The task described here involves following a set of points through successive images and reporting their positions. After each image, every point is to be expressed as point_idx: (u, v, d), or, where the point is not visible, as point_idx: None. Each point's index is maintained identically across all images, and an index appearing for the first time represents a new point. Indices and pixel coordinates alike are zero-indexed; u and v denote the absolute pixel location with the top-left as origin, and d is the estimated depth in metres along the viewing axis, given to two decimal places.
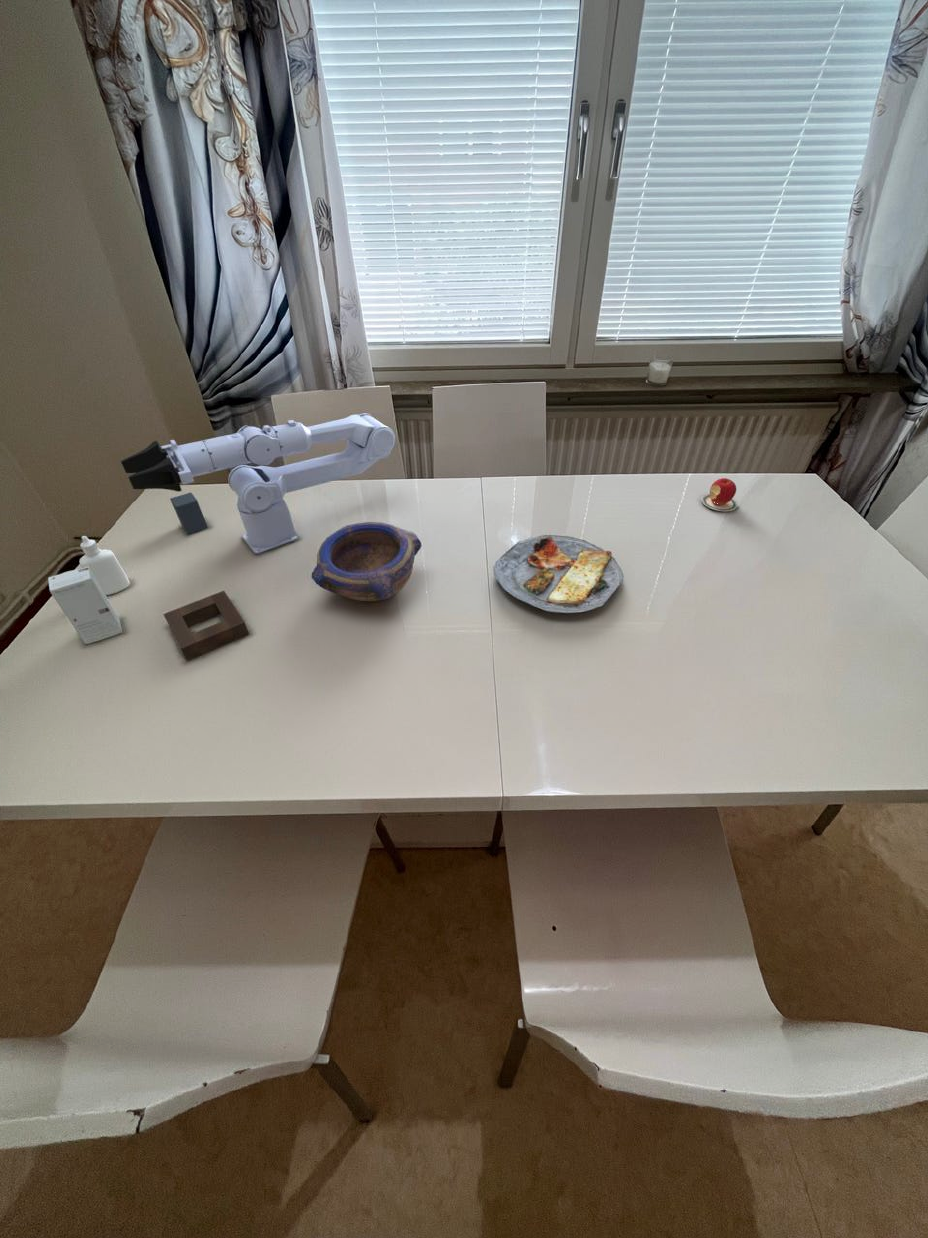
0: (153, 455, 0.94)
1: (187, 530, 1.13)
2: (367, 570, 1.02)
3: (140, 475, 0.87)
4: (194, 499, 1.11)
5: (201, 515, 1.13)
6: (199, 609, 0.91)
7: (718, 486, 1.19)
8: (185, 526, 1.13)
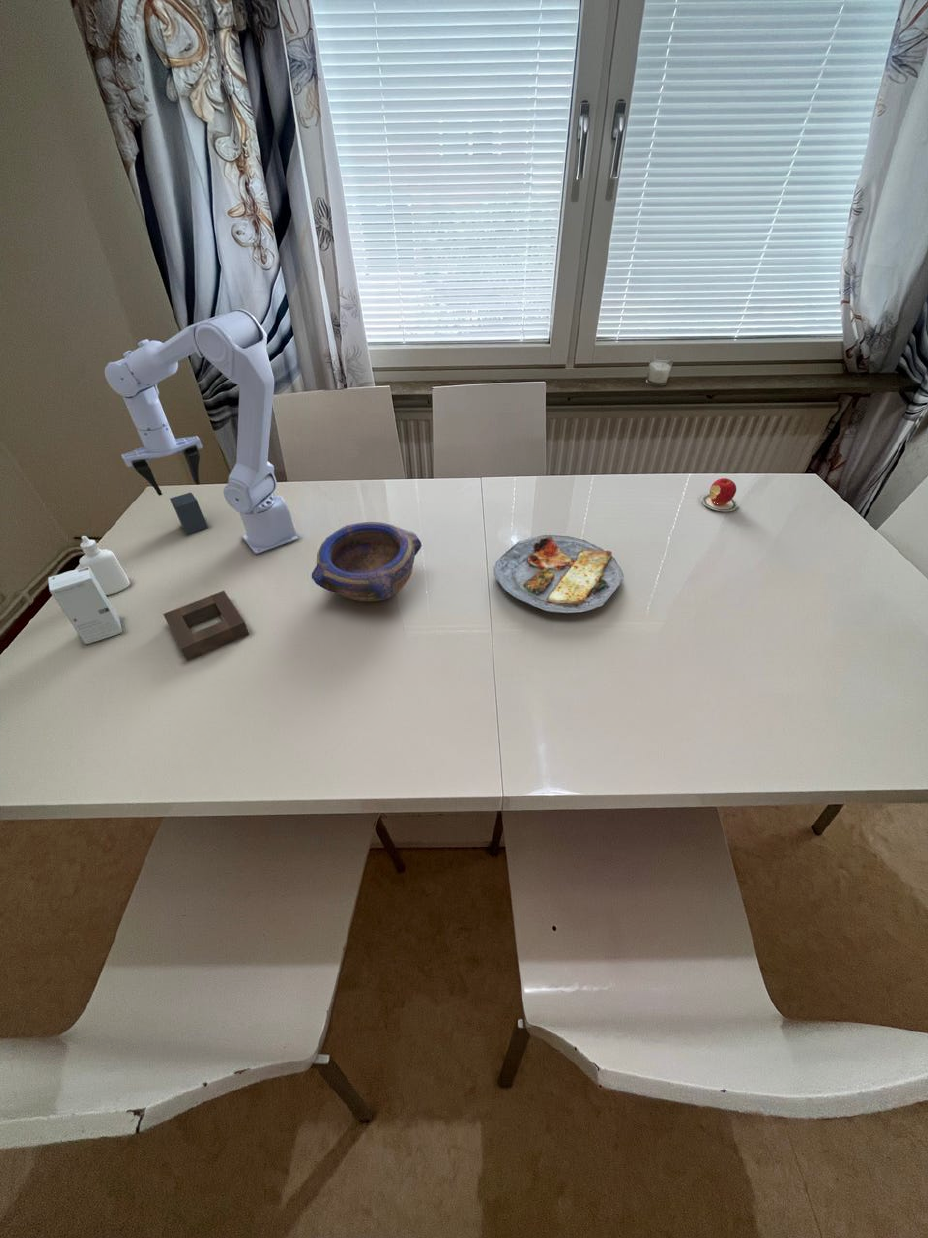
0: (186, 458, 1.08)
1: (187, 530, 1.13)
2: (367, 570, 1.02)
3: None
4: (194, 499, 1.11)
5: (201, 515, 1.13)
6: (199, 609, 0.91)
7: (718, 486, 1.19)
8: (185, 526, 1.13)
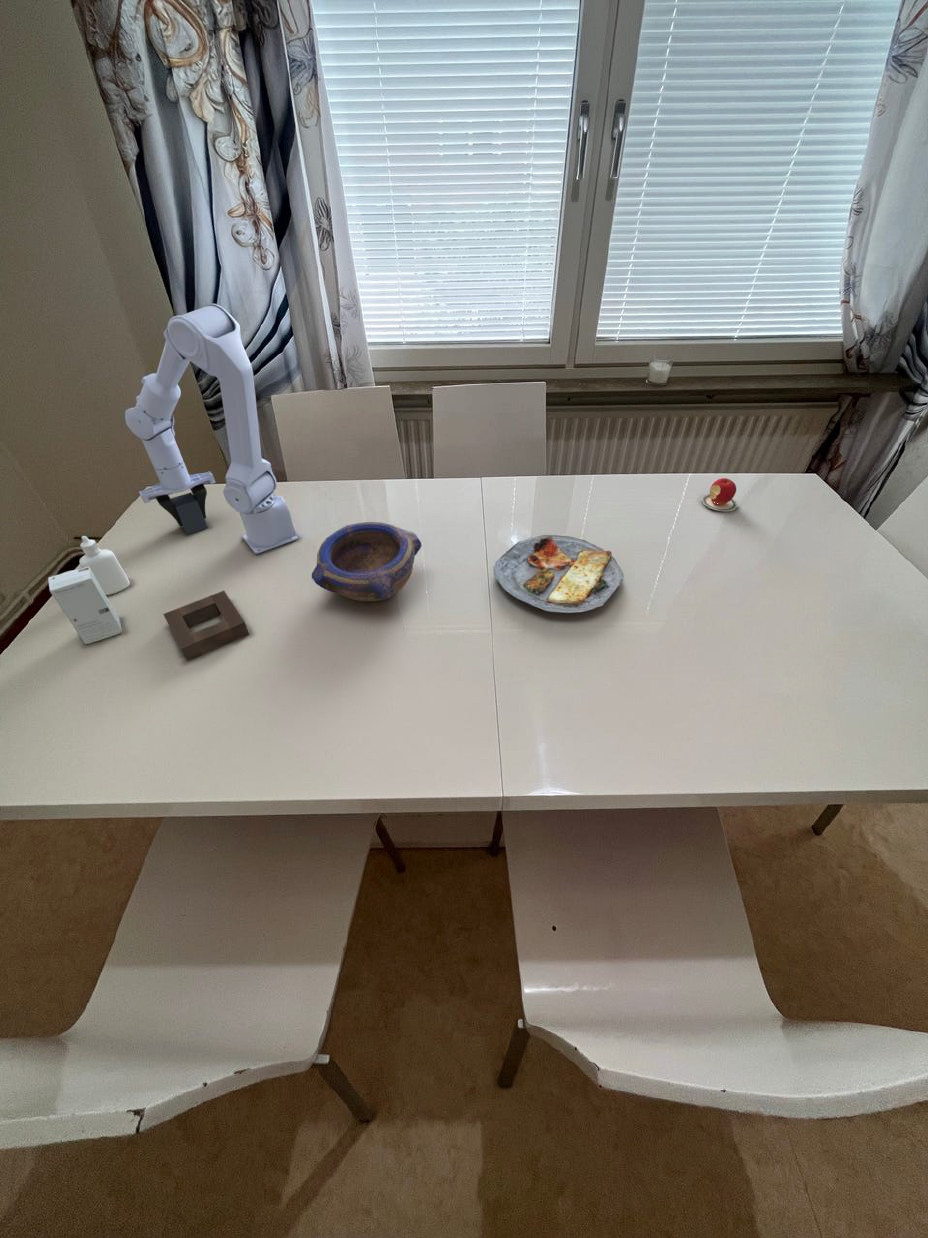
0: (193, 494, 1.13)
1: (187, 530, 1.13)
2: (367, 570, 1.02)
3: None
4: (194, 499, 1.11)
5: (201, 515, 1.13)
6: (199, 609, 0.91)
7: (718, 486, 1.19)
8: (185, 526, 1.13)
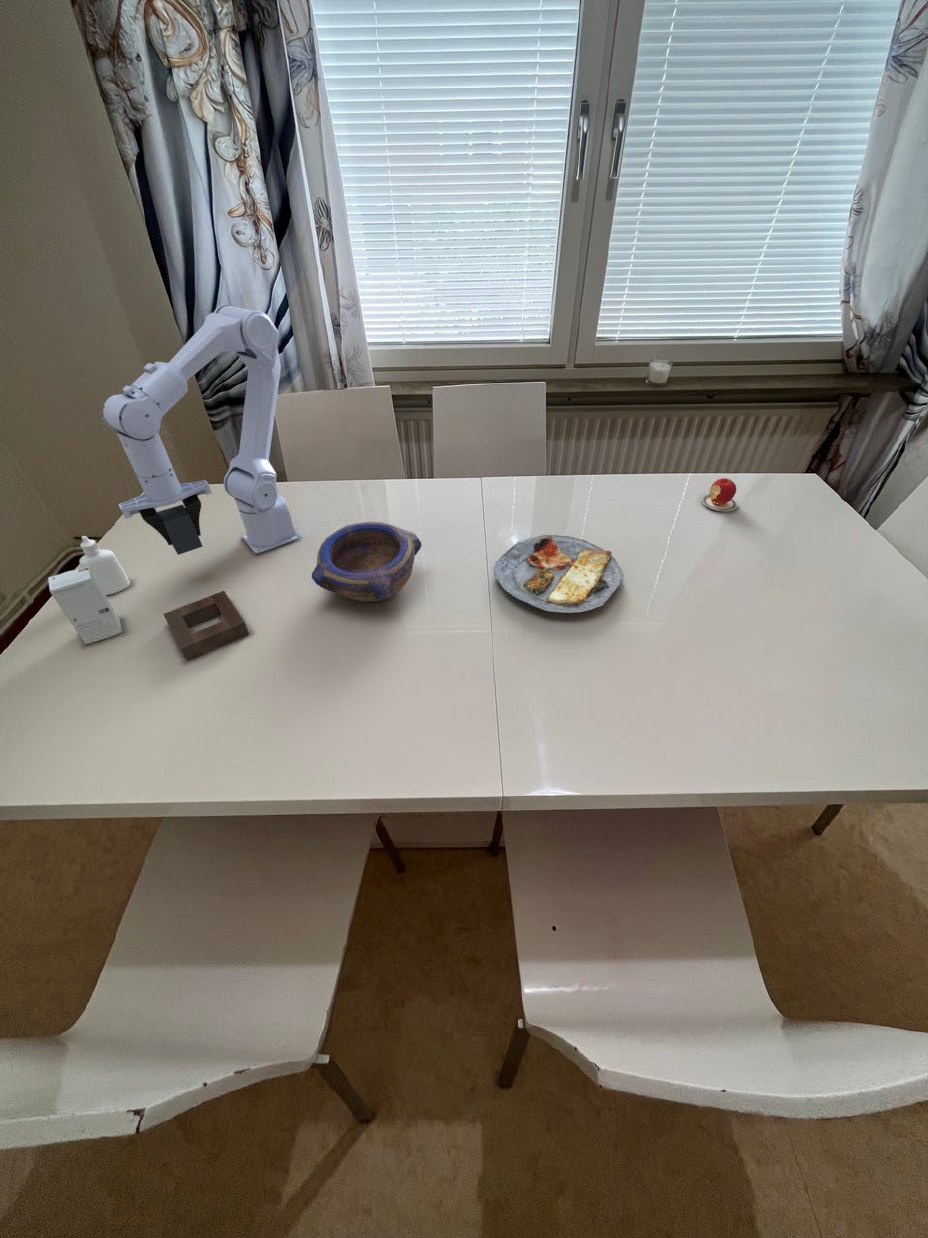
0: (185, 506, 0.94)
1: (177, 550, 0.95)
2: (367, 570, 1.02)
3: None
4: (186, 513, 0.93)
5: (194, 532, 0.95)
6: (199, 609, 0.91)
7: (718, 486, 1.19)
8: (175, 545, 0.94)
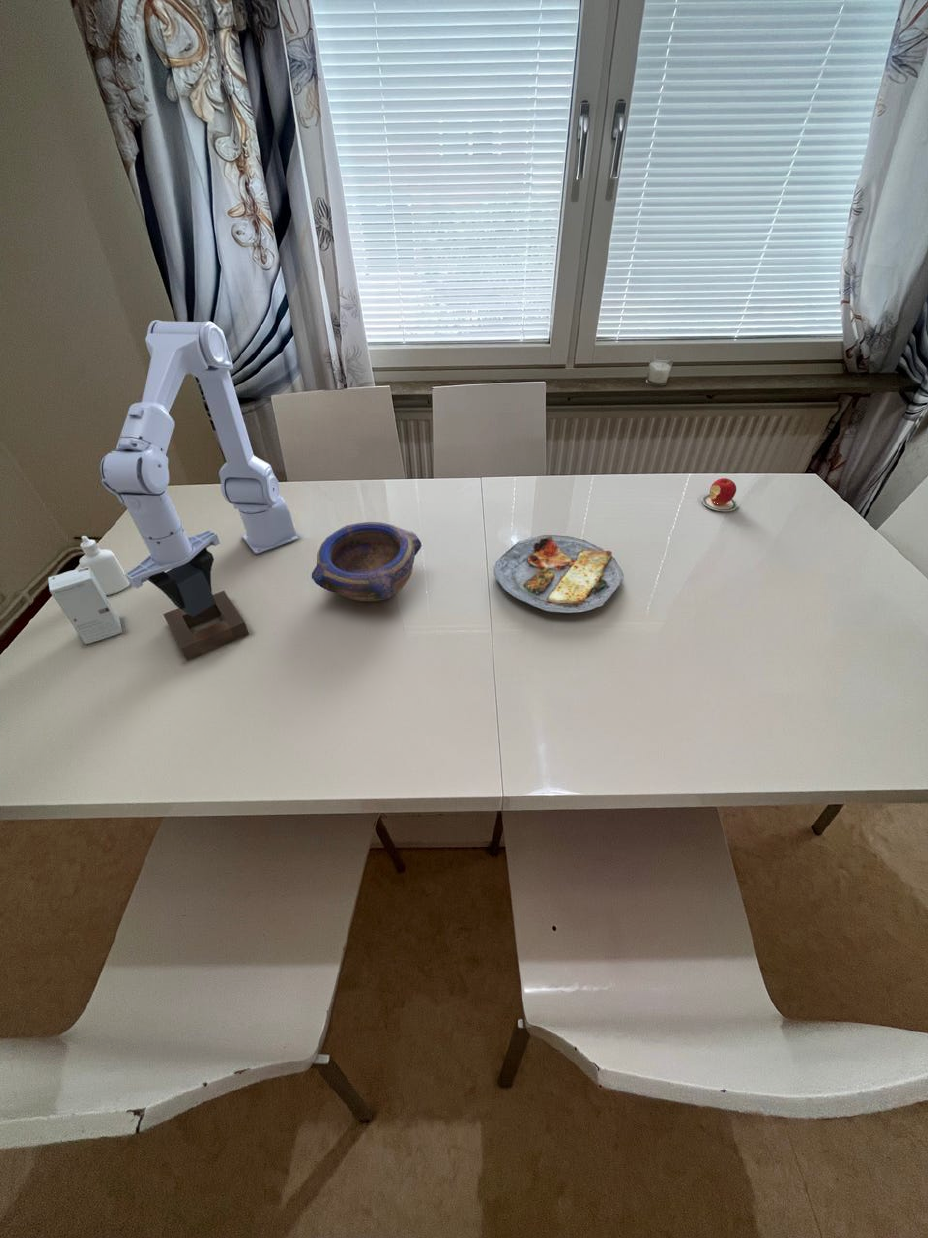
0: (191, 563, 0.85)
1: (192, 612, 0.85)
2: (367, 570, 1.02)
3: (168, 596, 0.84)
4: (197, 570, 0.83)
5: (208, 588, 0.85)
6: None
7: (718, 486, 1.19)
8: (190, 607, 0.84)
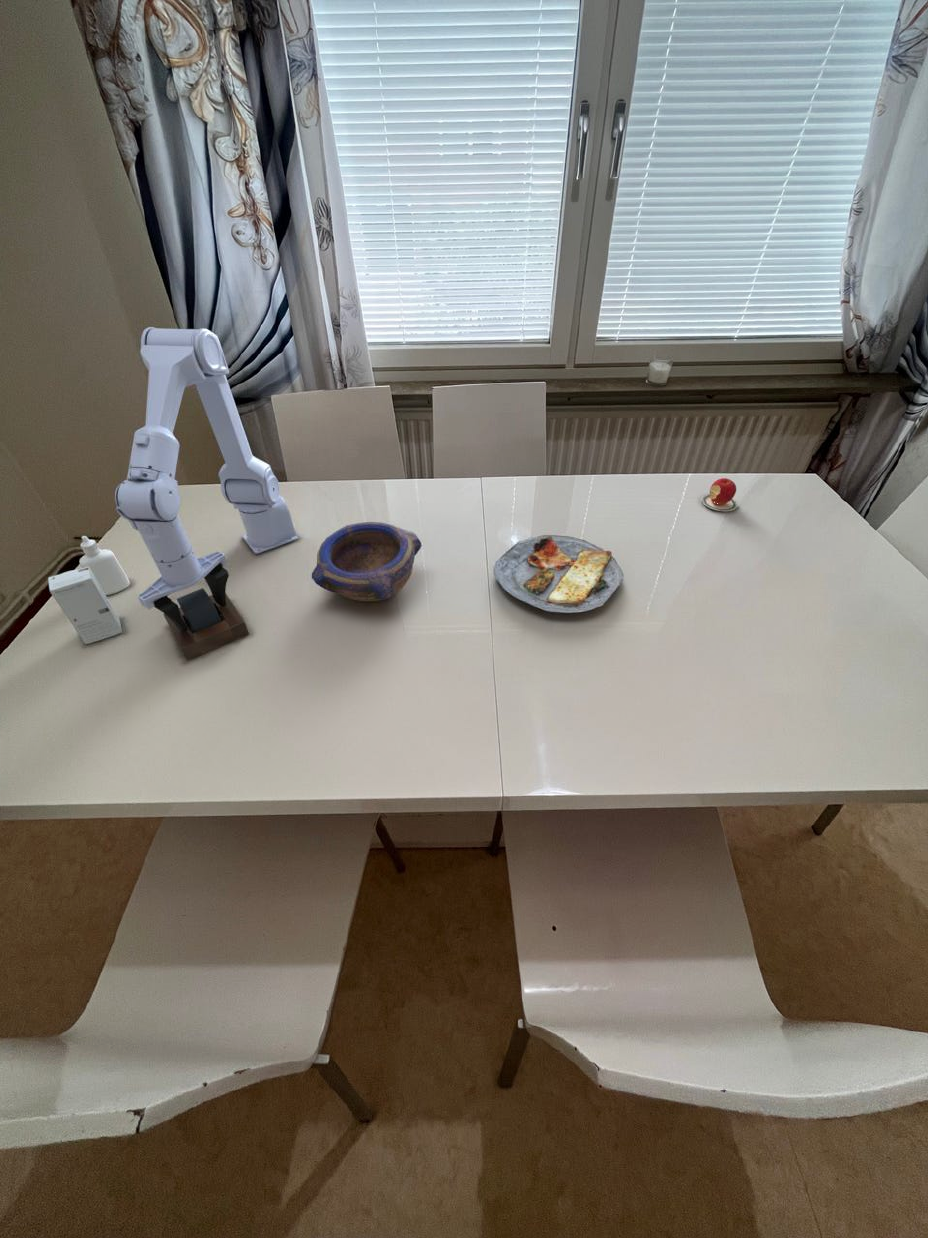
0: (207, 579, 0.88)
1: None
2: (367, 570, 1.02)
3: None
4: (208, 599, 0.87)
5: (217, 617, 0.89)
6: None
7: (718, 486, 1.19)
8: None
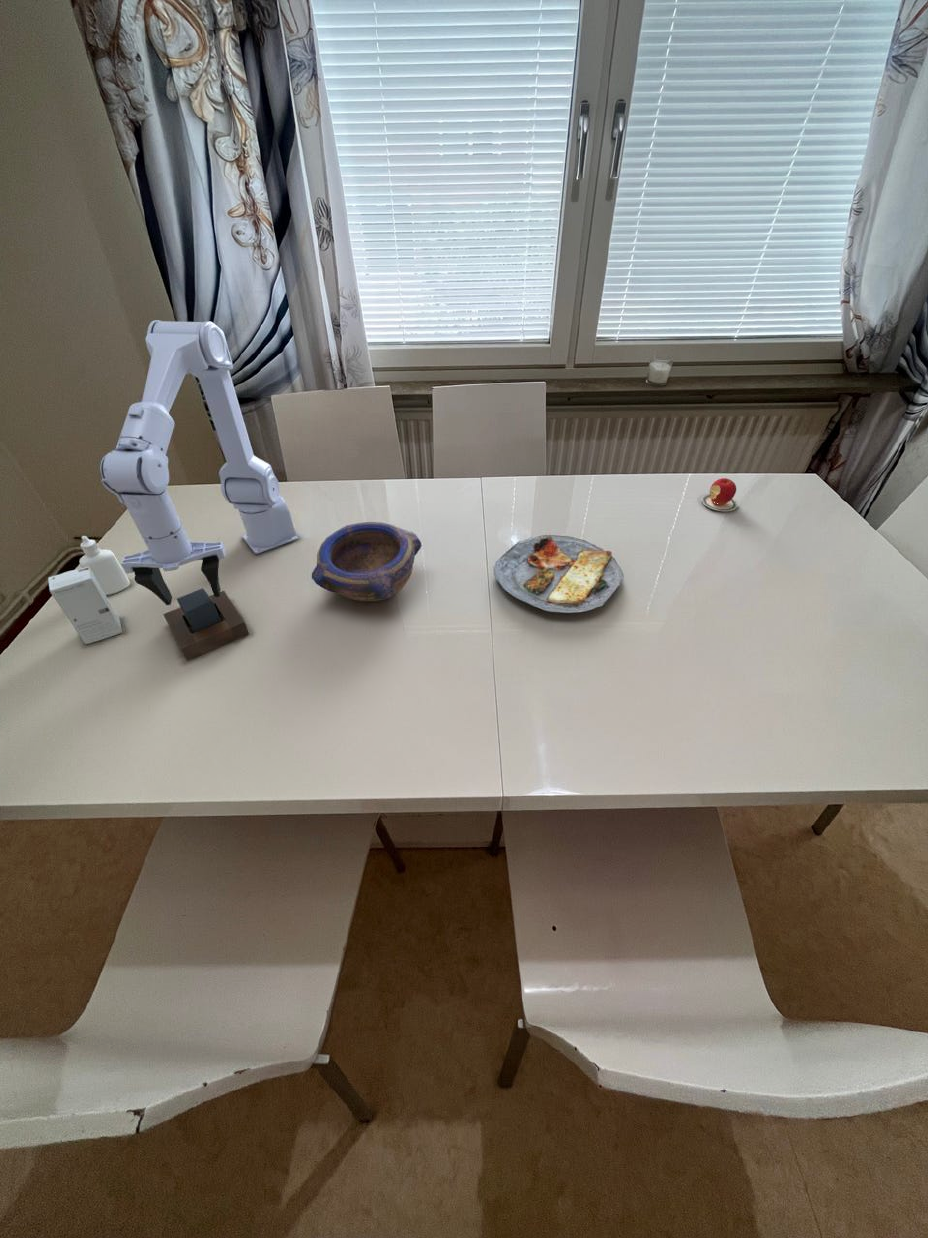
0: (156, 579, 0.81)
1: None
2: (367, 570, 1.02)
3: (217, 588, 0.85)
4: (208, 599, 0.87)
5: (217, 617, 0.89)
6: None
7: (718, 486, 1.19)
8: None
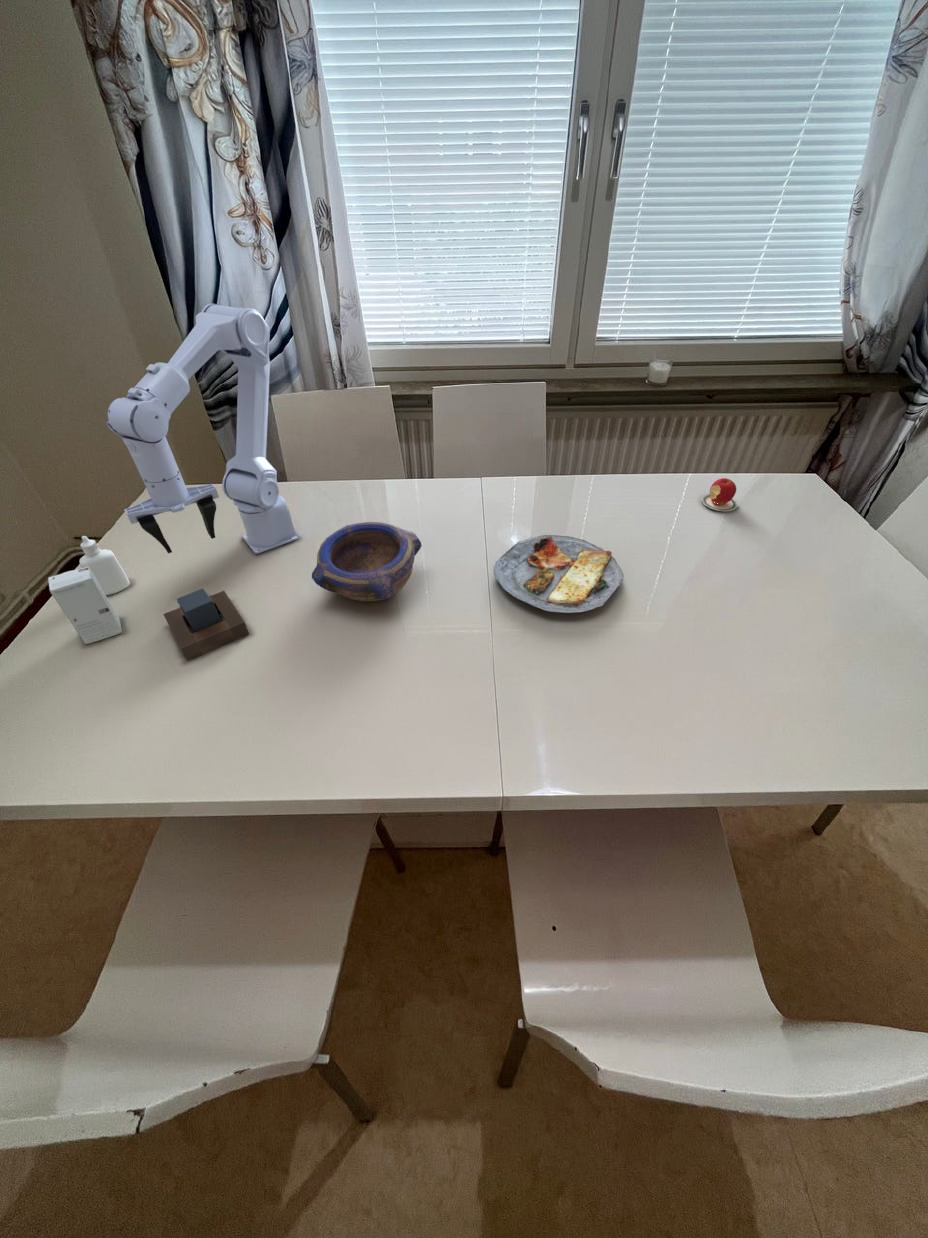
0: None
1: None
2: (367, 570, 1.02)
3: (213, 529, 0.94)
4: (208, 599, 0.87)
5: (217, 617, 0.89)
6: None
7: (718, 486, 1.19)
8: None
